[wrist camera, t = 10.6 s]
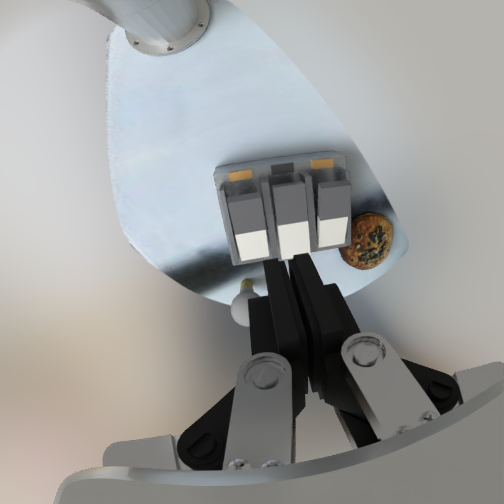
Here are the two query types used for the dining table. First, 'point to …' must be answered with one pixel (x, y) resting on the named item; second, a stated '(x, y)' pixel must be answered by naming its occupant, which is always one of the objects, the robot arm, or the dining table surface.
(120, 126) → the dining table surface
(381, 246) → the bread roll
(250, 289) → the light bulb
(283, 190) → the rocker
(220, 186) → the switch box
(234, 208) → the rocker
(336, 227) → the rocker
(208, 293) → the dining table surface
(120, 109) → the dining table surface
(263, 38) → the dining table surface
